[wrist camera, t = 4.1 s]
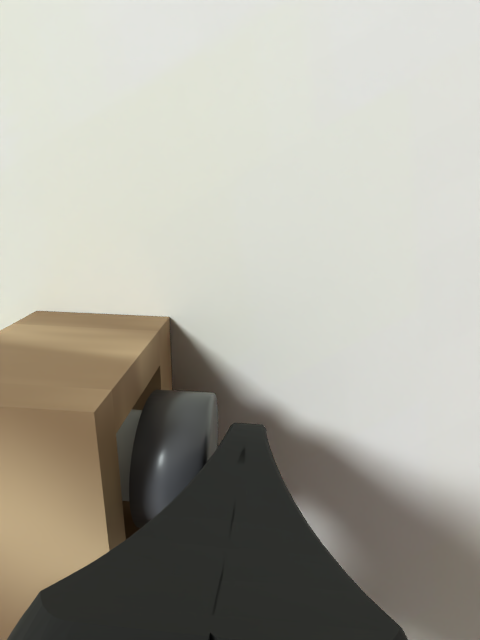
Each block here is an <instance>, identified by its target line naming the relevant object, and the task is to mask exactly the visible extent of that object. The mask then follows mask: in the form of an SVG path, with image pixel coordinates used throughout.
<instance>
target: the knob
mask: <svg viewBox="0 0 480 640" xmlns="http://www.w3.org/2000/svg"><path fill="white" fill-rule="evenodd" d="M116 440H117V450H118V461H119V472H120V483H121V493H122V501H129V502H130V511H131V516H132V519H133V522H134V524H135V525H136V526H137V527H138V528H142V527H143V526H144V525H145V524H147V523H148V522H149V521H150V520H151V519H153V518H154V517H155V516H156V515H157V514H159V513H160V512H161V511H162V510H163V509H164V508H165V507H166V506H167V505H168V504H169V503H170V502H172V501H173V500H174V499H175V498H176V497H177V496H178V495H179V494H180V493H181V491H182V490H183V489H184V488H185V487H186V486H187V485H188V484H189V483H190V482H191V480H192V479H193V478H194V477H195V476H196V475H197V474H198V472H199V471H200V470H201V469H202V468H203V466H204V465H205V464H206V463H207V461H208V460H209V459H210V457H211V456H212V455H213V453H214V452H215V451H216V449H217V443H218V406H217V399H216V395H215V393H209V392H192V391H175V390H155V391H153V392H152V393H151V394H150V396H149V397H148V399H147V401H146V403H145V405H144V408H143V410H133V409H132V410H131V411H130V413H129V414H128V416H127V418H126V419H125V421H124V422H123V424H122V425H121V427H120V429H119V430H118V432H117V433H116Z"/></svg>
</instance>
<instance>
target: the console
mask: <svg viewBox="0 0 480 640" xmlns="http://www.w3.org/2000/svg"><path fill="white" fill-rule="evenodd" d="M155 390H172V369H171V344H170V318H169V317H158V316H136V315H114V314H92V313H70V312H48V311H36V312H34V313H32V314H30V315H28V316H26V317H25V318H23V319H21V320H19V321H17V322H15V323H14V324H12V325H10V326H8V327H6V328H4V329H3V330H1V331H0V640H7V639H8V637H9V635H10V634H11V632H12V630H13V629H14V627H15V626H16V624H17V623H18V621H19V620H20V618H21V617H22V615H23V614H24V613H25V611H26V610H27V609H28V608H29V606H30V605H31V603H32V602H33V601H34V599H35V598H36V596H37V595H38V593H39V592H40V591H41V590H43V589H45V588H47V587H49V586H51V585H53V584H54V583H56V582H58V581H60V580H62V579H63V578H65V577H67V576H69V575H71V574H72V573H74V572H76V571H78V570H80V569H81V568H83V567H85V566H87V565H88V564H90V563H92V562H93V561H95V560H97V559H98V558H100V557H101V556H103V555H104V554H106V553H107V552H109V551H110V550H112V549H113V548H115V547H116V546H118V545H119V544H120V543H122V542H123V541H125V540H126V539H128V538H129V537H130V536H132V535H133V534H134V533H136V532H137V531H138V530H139V529H141V528H138V527H137V526H136V525H135V524H134V522H133V519H132V516H131V511H130V502H129V501H122V493H121V483H120V472H119V461H118V450H117V440H116V433H117V432H118V430H119V429H120V427H121V425H122V424H123V422H124V421H125V419H126V418H127V416H128V414H129V413H130V411H131V410H132V409H133V410H143V408H144V405H145V403H146V401H147V399H148V397H149V396H150V394H151V393H152V392H153V391H155Z"/></svg>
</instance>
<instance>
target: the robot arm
mask: <svg viewBox="0 0 480 640" xmlns="http://www.w3.org/2000/svg"><path fill="white" fill-rule="evenodd" d="M7 640H408V639H407V637H406V635H405V633H404V631H403V629H402V628H401V627H400V626H399V625H398V624H397V623H396V622H395V621H394V620H392V619H391V618H390V617H389V616H388V615H387V614H386V613H385V612H384V611H383V610H382V609H381V608H380V607H379V606H378V605H376V604H375V603H374V602H373V601H372V600H371V599H370V598H369V597H368V596H367V595H366V594H365V593H364V592H363V591H362V590H361V589H360V588H359V586H358V585H357V584H356V583H355V582H354V581H353V580H352V579H351V578H350V577H349V576H348V575H347V573H346V572H345V571H344V570H343V569H342V567H341V566H340V565H339V564H338V562H337V561H336V560H335V559H334V558H333V556H332V555H331V554H330V553H329V551H328V550H327V549H326V548H325V547H324V545H323V544H322V543H321V541H320V540H319V539H318V537H317V536H316V534H315V533H314V532H313V530H312V529H311V527H310V526H309V524H308V523H307V521H306V520H305V518H304V517H303V515H302V514H301V512H300V510H299V509H298V507H297V505H296V504H295V502H294V500H293V498H292V496H291V494H290V493H289V491H288V489H287V487H286V485H285V483H284V481H283V479H282V477H281V474H280V472H279V470H278V468H277V465H276V463H275V461H274V458H273V455H272V452H271V449H270V446H269V443H268V439H267V434H266V428H265V427H264V426H263V425H259V424H244V423H234V424H233V425H231V426H230V428H229V430H228V432H227V434H226V435H225V437H224V439H223V440H222V442H221V443H220V445H219V446H218V448H217V449H216V451H215V452H214V453H213V455H212V456H211V457H210V459H209V460H208V461H207V463H206V464H205V465H204V466H203V468H202V469H201V470H200V471H199V472H198V474H197V475H196V476H195V477H194V478H193V479H192V480H191V482H190V483H189V484H188V485H187V486H186V487H185V488H184V489H183V490H182V491H181V493H180V494H179V495H178V496H177V497H176V498H175V499H174V500H173V501H172V502H170V503H169V504H168V505H167V506H166V507H165V508H164V509H163V510H162V511H161V512H160V513H159V514H157V515H156V516H155V517H154V518H153V519H151V520H150V521H149V522H148V523H147V524H145V525H144V526H143V527H142V528H141V529H139V530H138V531H137V532H136V533H134V534H133V535H132V536H130V537H129V538H128V539H126V540H125V541H123V542H122V543H120V544H119V545H118V546H116V547H115V548H113V549H112V550H110V551H109V552H107V553H106V554H104V555H103V556H101V557H100V558H98V559H97V560H95V561H93V562H92V563H90V564H88V565H87V566H85V567H83V568H81V569H80V570H78V571H76V572H74V573H72V574H71V575H69V576H67V577H65V578H63V579H62V580H60V581H58V582H56V583H54V584H53V585H51V586H49V587H47V588H45V589H43V590H41V591H40V592H39V593H38V595H37V596H36V598H35V599H34V601H33V602H32V603H31V605H30V606H29V608H28V609H27V610H26V611H25V613H24V614H23V615H22V617H21V618H20V620H19V621H18V623H17V624H16V626H15V627H14V629H13V630H12V632H11V634H10V635H9V637H8V639H7Z"/></svg>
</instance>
